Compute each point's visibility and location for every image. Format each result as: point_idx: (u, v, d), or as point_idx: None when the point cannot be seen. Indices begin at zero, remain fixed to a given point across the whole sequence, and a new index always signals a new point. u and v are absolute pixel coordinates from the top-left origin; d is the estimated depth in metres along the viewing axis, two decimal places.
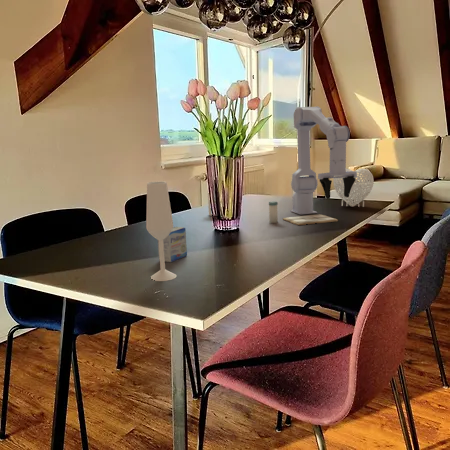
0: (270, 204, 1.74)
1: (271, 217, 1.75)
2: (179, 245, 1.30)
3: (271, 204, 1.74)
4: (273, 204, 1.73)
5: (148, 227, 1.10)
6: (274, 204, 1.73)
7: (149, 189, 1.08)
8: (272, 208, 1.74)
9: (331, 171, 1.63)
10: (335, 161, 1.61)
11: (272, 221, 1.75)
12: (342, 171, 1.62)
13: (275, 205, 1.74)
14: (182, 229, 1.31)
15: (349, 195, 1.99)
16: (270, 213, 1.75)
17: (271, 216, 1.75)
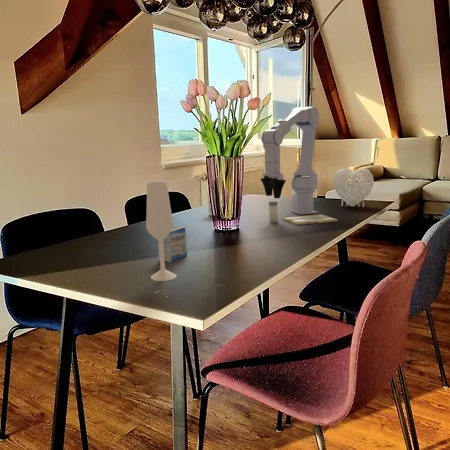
0: (270, 204, 1.74)
1: (271, 217, 1.75)
2: (179, 244, 1.30)
3: (271, 204, 1.74)
4: (273, 204, 1.73)
5: (148, 227, 1.10)
6: (274, 204, 1.73)
7: (149, 189, 1.08)
8: (272, 208, 1.74)
9: None
10: None
11: (272, 221, 1.75)
12: (266, 172, 1.71)
13: (275, 205, 1.74)
14: (182, 229, 1.31)
15: (349, 195, 1.99)
16: (270, 213, 1.75)
17: (271, 216, 1.75)
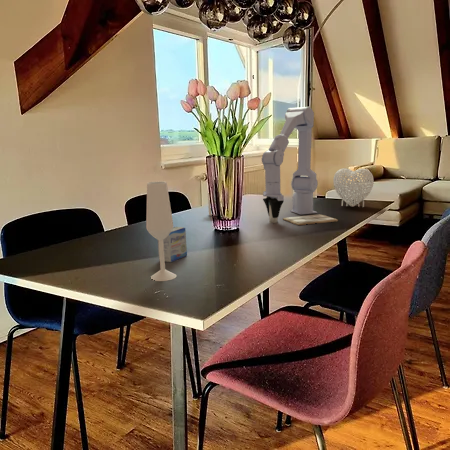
0: None
1: (271, 217, 1.75)
2: (179, 245, 1.30)
3: None
4: None
5: (148, 227, 1.10)
6: None
7: (149, 189, 1.08)
8: None
9: None
10: None
11: (272, 221, 1.75)
12: (266, 192, 1.73)
13: None
14: (182, 229, 1.31)
15: (349, 195, 1.99)
16: (270, 213, 1.75)
17: (271, 216, 1.75)
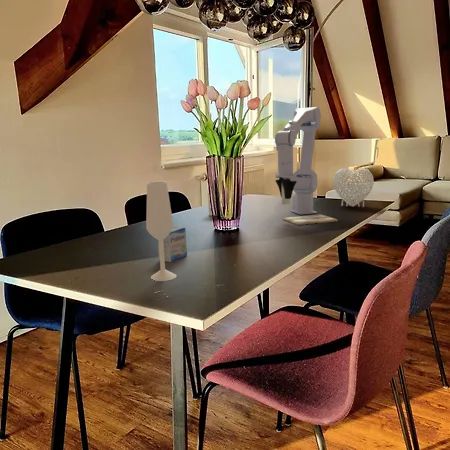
0: (282, 185, 1.73)
1: (283, 198, 1.74)
2: (179, 245, 1.30)
3: None
4: None
5: (148, 227, 1.10)
6: None
7: (149, 189, 1.08)
8: None
9: None
10: None
11: (284, 202, 1.74)
12: (279, 173, 1.72)
13: None
14: (182, 229, 1.31)
15: (349, 195, 1.99)
16: (283, 194, 1.74)
17: (283, 197, 1.74)
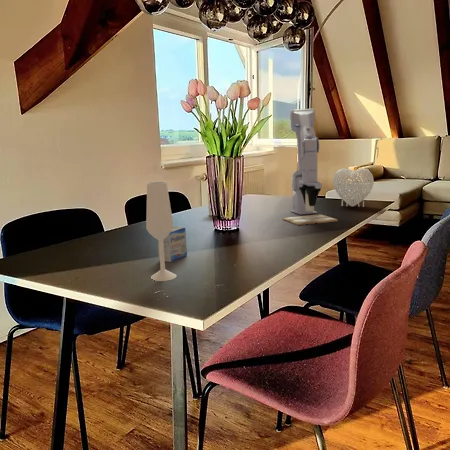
0: (306, 192, 1.74)
1: (307, 205, 1.75)
2: (179, 245, 1.30)
3: None
4: None
5: (148, 227, 1.10)
6: None
7: (149, 189, 1.08)
8: None
9: None
10: None
11: (308, 209, 1.75)
12: (303, 180, 1.73)
13: None
14: (182, 229, 1.31)
15: (349, 195, 1.99)
16: (307, 201, 1.75)
17: (307, 204, 1.75)
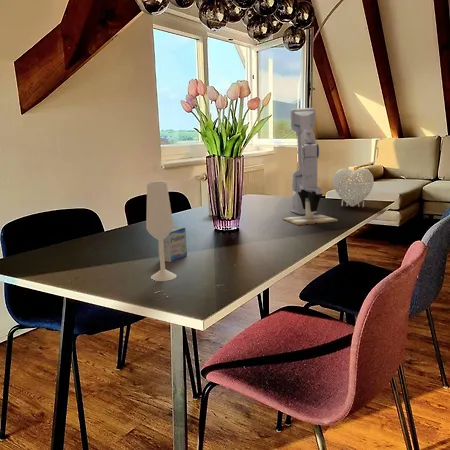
0: (306, 200, 1.75)
1: (307, 213, 1.76)
2: (179, 245, 1.30)
3: (307, 200, 1.74)
4: None
5: (148, 227, 1.10)
6: None
7: (149, 189, 1.08)
8: (308, 204, 1.75)
9: None
10: None
11: (308, 217, 1.76)
12: (303, 185, 1.73)
13: None
14: (182, 229, 1.31)
15: (349, 195, 1.99)
16: (307, 209, 1.75)
17: (307, 212, 1.75)
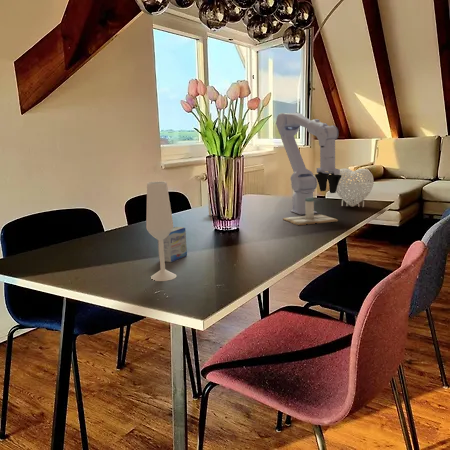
0: (306, 200, 1.75)
1: (307, 213, 1.76)
2: (179, 245, 1.30)
3: (307, 200, 1.74)
4: (310, 200, 1.74)
5: (148, 227, 1.10)
6: (311, 200, 1.74)
7: (149, 189, 1.08)
8: (308, 204, 1.75)
9: None
10: None
11: (308, 217, 1.76)
12: (321, 167, 1.76)
13: (312, 201, 1.74)
14: (182, 229, 1.31)
15: (349, 195, 1.99)
16: (307, 209, 1.75)
17: (307, 212, 1.75)
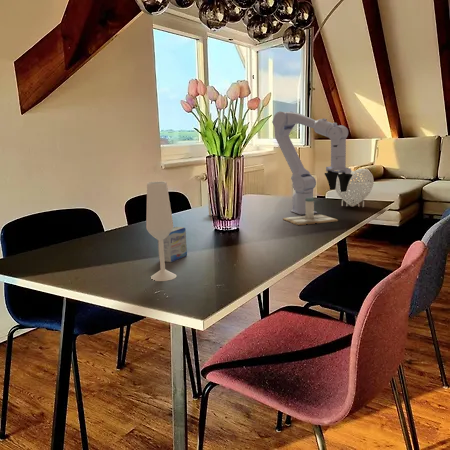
0: (307, 200, 1.75)
1: (307, 213, 1.76)
2: (179, 245, 1.30)
3: (308, 200, 1.74)
4: (310, 200, 1.74)
5: (148, 227, 1.10)
6: (311, 200, 1.74)
7: (149, 189, 1.08)
8: (309, 204, 1.75)
9: None
10: None
11: (308, 217, 1.76)
12: (332, 166, 1.79)
13: (312, 201, 1.74)
14: (182, 229, 1.31)
15: (349, 195, 1.99)
16: (307, 209, 1.75)
17: (307, 212, 1.75)
